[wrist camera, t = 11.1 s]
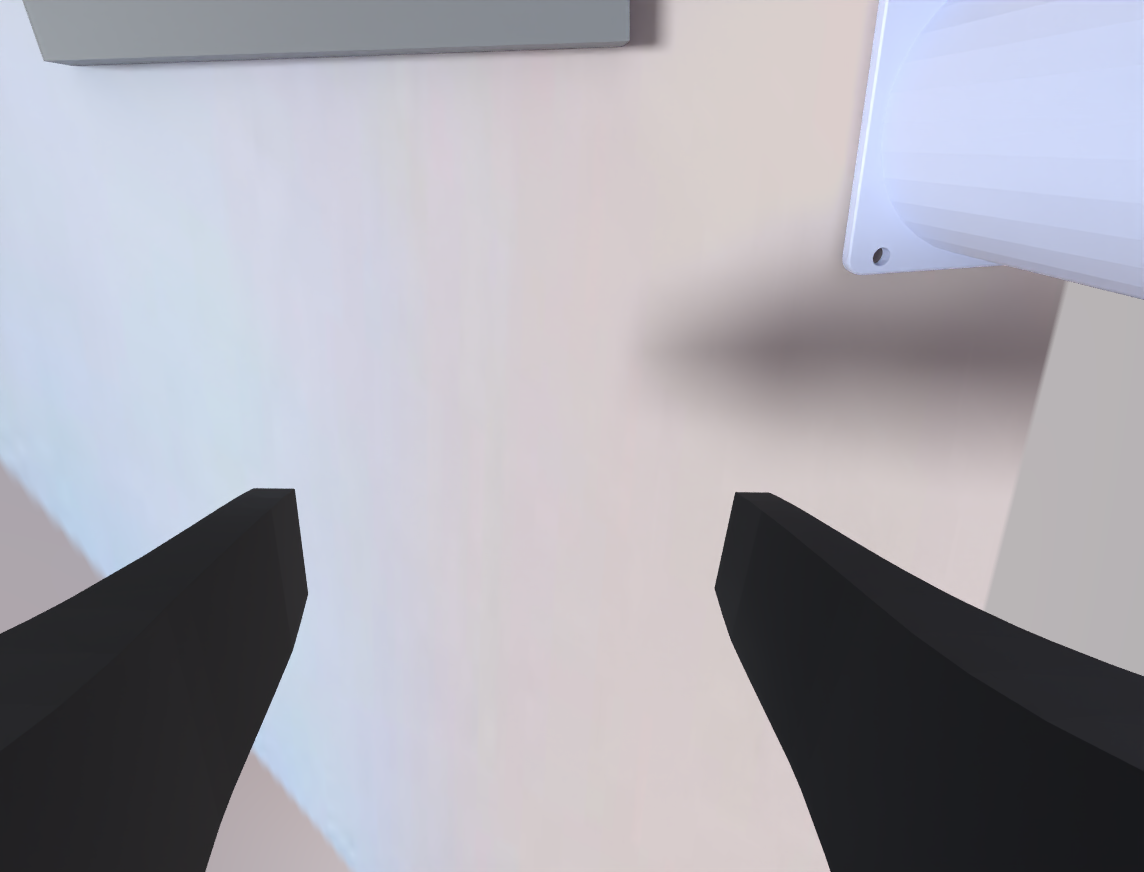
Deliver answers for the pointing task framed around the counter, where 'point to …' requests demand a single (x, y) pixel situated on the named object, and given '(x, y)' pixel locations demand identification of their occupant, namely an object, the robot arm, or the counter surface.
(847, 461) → the counter surface
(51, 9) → the plate
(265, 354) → the counter surface
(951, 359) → the counter surface
